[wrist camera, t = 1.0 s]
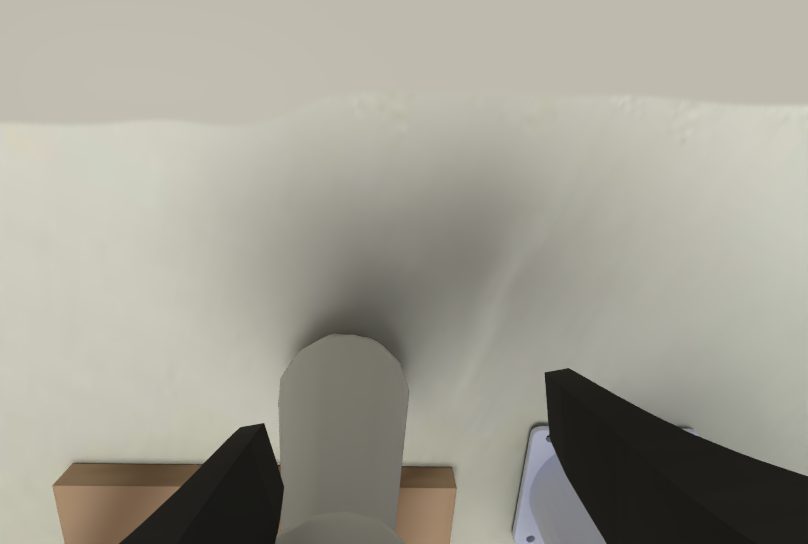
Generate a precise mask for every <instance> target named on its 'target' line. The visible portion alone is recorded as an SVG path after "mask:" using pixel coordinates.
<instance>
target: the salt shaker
mask: <svg viewBox="0 0 808 544" xmlns="http://www.w3.org/2000/svg"><path fill="white" fill-rule="evenodd" d="M408 399H409V388H408V385H407V382H406V379H405V376H404V373H403V370H402V367H401V365H400V363H399V361H398V360H397V359H396V358H395V357H394V356H393V355H392V354H391V353H390V352H389V351H388V350H387V349H386V348H385V347H384V346H383V345H381V344H380V343H379V342H377V341H375V340H374V339H372V338H370V337H363V336H357V335H354V334H351V335H346V334H337V333H332V334H330V335H328V336H325V337H323V338H322V339H320V340H318V341H316V342H314V343H313V344H311V345H309V346H307V347H305V348H304V349H302V350H300V351H299V353H298V354H297V356H296V357H295V358H294V360H293V361H292V363H291V364H290V365H289V367H288V368H287V369H286V371H285V372H284V374H283V375H282V377H281V379H280V390H279V402H278V408H279V435H280V463H281V478H282V481H283V484H284V494H283V502H282V510H281V531H280V532H279V533H278V534H277V537H276V541H275V544H405V543H404V541H403V539H402V538H401V537H400V536H399V535H398V534H397V533H395V527H396V517H397V507H398V497H399V487H400V478H401V468H402V458H403V448H404V438H405V428H406V418H407V408H408Z"/></svg>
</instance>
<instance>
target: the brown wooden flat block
mask: <svg viewBox="0 0 808 544" xmlns="http://www.w3.org/2000/svg"><path fill="white" fill-rule="evenodd" d="M201 466H202V465H162V464H72V465H71V466H70V467H69V468H68V469H67V470H66V471H65V473H64V474H63V475H62V476H61V477H60V478H59V479H58V480H57V481H56V482H55V483H54V485H53V486H52V487H53V491H54V496H55V500H56V505H57V509H58V514H59V519H60V523H61V528H62V532H63V537H64V542H65V544H119V543H120V542H121V541H122V540H124V539H125V538H126V537H127V536H128V535H129V534H131V533H132V532H133V531H134V530H135V529H136V528H137V527H138V526H140V525H141V524H142V523H143V522H144V521H145V520H146V519H147V518H148V517H149V516H150V515H151V514H152V513H154V512H155V511H156V510H157V509H158V508H159V507H160V506H161V505H162V504H163V503H164V502H165V501H166V500H167V499H168V498H169V497H171V496H172V495H173V494H174V493H175V492H176V491H177V490H178V489H179V488H180V487H181V486H182V485H183V484H184V483H185V482H186V481H187V480H188V479H189V478H190V477H191V476H192V475H193V474H194V473H195V472H196V471H197V470H198V469H199V468H200V467H201ZM278 469H279V472H280V475H281V466H278ZM456 489H457V488H456V483H455V479H454V474H453V470H452V467H402V468H401V478H400V487H399V497H398V507H397V517H396V527H395V533H397V534H398V535H399V536H400V537H401V538H402V539H403V541H404V543H405V544H450V537H451V529H452V521H453V513H454V505H455V497H456ZM280 531H281V517H280V523H279V529H278V533H279V532H280ZM278 533H277V534H278Z"/></svg>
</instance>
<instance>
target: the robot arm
mask: <svg viewBox="0 0 808 544" xmlns="http://www.w3.org/2000/svg"><path fill="white" fill-rule="evenodd" d="M545 383H546V397H547V410H548V423H549V426H538V427H535V428H534V429H533V430H532V431H531V433H530V438H529V443H528V449H527V455H526V460H525V466H524V471H523V477H522V482H521V488H520V493H519V499H518V504H517V510H516V515H515V521H514V526H513V532H512V537H513V540H514V542H515V543H516V544H808V476H805V475H802V474H799V473H796V472H793V471H790V470H787V469H784V468H781V467H778V466H775V465H772V464H769V463H766V462H763V461H760V460H757V459H754V458H752V457H749V456H746V455H743V454H741V453H738V452H735V451H733V450H730V449H728V448H725V447H723V446H721V445H718V444H716V443H713V442H711V441H708V440H706V439H703V438H701V437H700V436H699V434H698V433H697V432H696V431H695V430H693V429H681V428H679V427H677V426H675V425H673V424H671V423H668V422H666V421H664V420H662V419H660V418H658V417H656V416H654V415H652V414H650V413H648V412H646V411H644V410H642V409H641V408H639V407H637V406H635V405H633V404H631V403H629V402H628V401H626V400H624V399H622V398H620V397H618V396H617V395H615V394H613V393H611V392H610V391H608V390H606V389H604V388H603V387H601V386H599V385H597V384H596V383H594V382H592V381H590V380H589V379H587V378H585V377H583V376H582V375H580V374H578V373H576V372H575V371H573V370H571V369H569V368H567V369H562V370H556V371H551V372H545ZM548 435H549V436H550V437H548V438H547V436H548ZM283 494H284V484H283V481H282V478H281V475H280V472H279V469H278V465H277V462H276V459H275V456H274V453H273V450H272V447H271V443H270V440H269V437H268V434H267V431H266V428H265V425H264V423H262V424H257V425H251V426H245V427H240V428H239V429H238V430H237V431H236V432H235V433H234V434H233V435H232V436H231V437H230V438H228V439H227V440H226V441H225V442H224V443H223V444H222V445H221V447H220V448H219V449H218V450H217V451H216V452H215V453H214V454H213V455H212V456H211V457H210V458H209V459H208V460H207V461H206V462H205V463H204V464H203V465H202V466H201V467H200V468H199V469H198V470H197V471H196V472H195V473H194V474H193V475H192V476H191V477H190V478H189V479H188V480H187V481H186V482H185V483H184V484H183V485H182V486H181V487H180V488H179V489H178V490H177V491H176V492H175V493H174V494H173V495H172V496H171V497H169V498H168V499H167V500H166V501H165V502H164V503H163V504H162V505H161V506H160V507H159V508H158V509H157V510H156V511H155V512H154V513H152V514H151V515H150V516H149V517H148V518H147V519H146V520H145V521H144V522H143V523H142V524H141V525H140V526H138V527H137V528H136V529H135V530H134V531H133V532H132V533H131V534H129V535H128V536H127V537H126V538H125V539H124V540H122V541H121V542H120V543H119V544H275V541H276V537H277V533H278V529H279V523H280V517H281V510H282V502H283Z"/></svg>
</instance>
